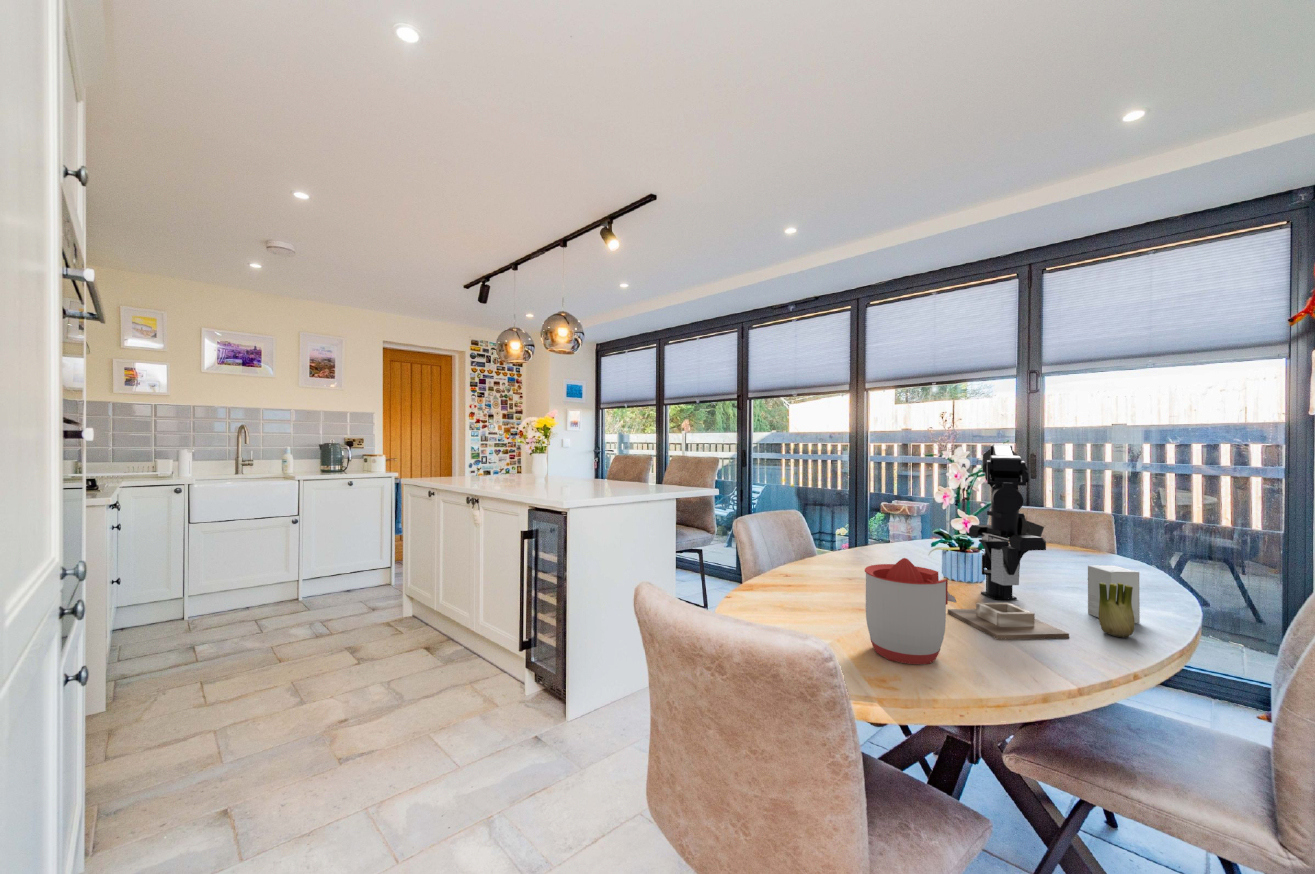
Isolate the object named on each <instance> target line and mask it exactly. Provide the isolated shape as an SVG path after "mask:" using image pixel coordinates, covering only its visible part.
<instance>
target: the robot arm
mask: <svg viewBox="0 0 1315 874" xmlns="http://www.w3.org/2000/svg"><path fill="white" fill-rule="evenodd" d="M981 467H982V468H981V469H982V470H981V471H982V472H981V473H982V474H984V479H985V480H986V483H987V485H989V486H990V492H991V493H990V494H991V495H990V510H987V511H986V515H987V516H990V524H971V525H970V527H969V528H968V536H969V537H973V538H979V537H981V538H980V539H978V542H979V543H981V545H982V547H983V548H984V553H983V552H982V553H981V575H983V576H985V591H980V594H982V595H984V596H986V597H988V598H991V599H993V600H995V601H997V600H998V601H999V600H1003V601H1004V600H1007V601H1008V600H1018V597H1017V596H1014V595H1013V585H1001V584H998V583H995V582H993V581H991V548H1002V552H1003V555H1004V559H1005V563H1006V567H1007V571H1008V574H1009V575H1014V574H1015V571H1016V569H1017V567H1018V565H1019V571H1020V567H1021V560H1022V558H1023V556H1024V555H1025V554H1026V553H1028V552H1029V551H1047V541H1046V540H1045V538H1043V537H1042V534H1043V532H1044V529H1045V526H1042V525H1041V524H1037V523H1035V522H1032V521H1029V520H1027V519H1026V515H1025V513H1024V512H1020V509H1021V508H1022V506H1023V504H1024V497H1023V495H1022V493H1021V492H1020V488H1019V486H1020V487H1021V486H1023V487H1025V486H1027V483H1029V480H1030V479H1029V478H1030V477H1029V469H1028V468H1029V467H1028V465H1027V464H1026V461H1025V460H1022V457H1021V456H1020V455H1018V454H1017V453H1016V452H1015V451H1014V450H1013V444H1009V443H992V444H990V448H989V449H988V450H987V451H986V452H984V453H983V454H982V465H981Z"/></svg>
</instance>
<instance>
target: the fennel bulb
mask: <svg viewBox="0 0 1315 874" xmlns="http://www.w3.org/2000/svg"><path fill="white" fill-rule="evenodd" d="M1099 588H1100V601H1099V618H1098V621H1099V626H1100V627H1101V629H1102V632H1103V633H1106V634H1108V635H1110V636H1112V637H1116V638H1123V639H1127V638H1129V637H1130V636H1132V635H1133V633H1134V632H1135V625H1136V623H1135V621H1134V614H1133V609H1132V604H1131V601H1132V590H1133V587H1131V586H1129V585H1125V587H1124V592H1123V584H1121V583H1118V589H1117V586H1116V584H1114V583H1112V584H1110V586H1109V596H1108V597H1109V598H1108V600H1107V588H1106V584H1105V583H1099ZM1116 593H1117V599H1116ZM1116 600H1117V601H1116Z"/></svg>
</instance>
